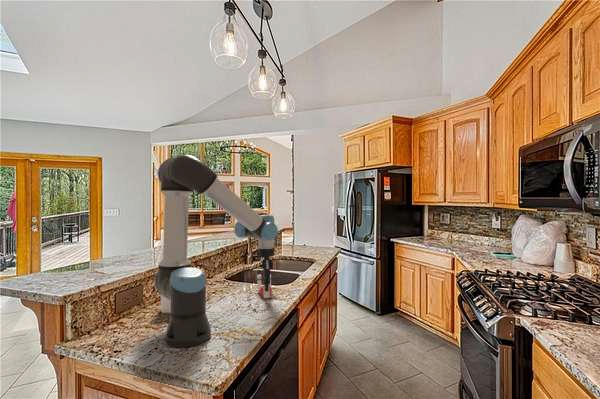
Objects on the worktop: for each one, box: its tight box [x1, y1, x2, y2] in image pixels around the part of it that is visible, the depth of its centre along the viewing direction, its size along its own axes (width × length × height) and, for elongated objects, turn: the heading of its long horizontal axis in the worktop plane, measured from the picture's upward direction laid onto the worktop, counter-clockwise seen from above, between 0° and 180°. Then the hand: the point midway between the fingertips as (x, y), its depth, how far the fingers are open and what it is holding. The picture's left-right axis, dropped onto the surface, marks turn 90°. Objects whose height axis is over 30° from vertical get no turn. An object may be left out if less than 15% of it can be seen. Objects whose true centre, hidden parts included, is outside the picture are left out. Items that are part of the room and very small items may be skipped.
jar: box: [160, 294, 171, 314], centre depth 135 cm, size 9×8×12 cm
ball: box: [259, 284, 273, 298], centre depth 152 cm, size 6×6×6 cm
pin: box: [256, 274, 262, 294], centre depth 160 cm, size 2×2×9 cm
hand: (266, 297), depth 146 cm, fingers closed
